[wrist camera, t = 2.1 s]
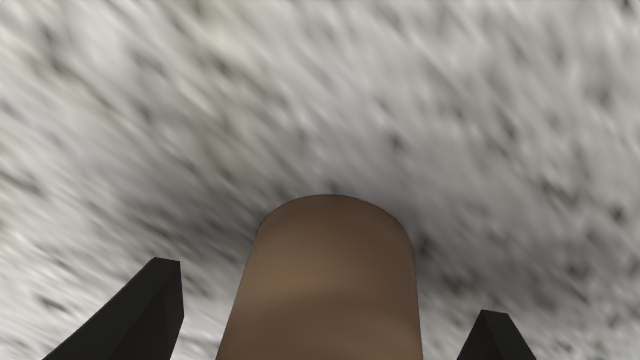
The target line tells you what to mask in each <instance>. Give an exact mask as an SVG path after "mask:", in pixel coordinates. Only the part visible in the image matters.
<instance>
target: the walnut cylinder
mask: <svg viewBox="0 0 640 360" xmlns="http://www.w3.org/2000/svg"><path fill="white" fill-rule="evenodd" d="M215 360H423V353H422V342H421V330H420V319H419V308H418V296H417V285H416V274H415V262H414V253H413V247H412V244H411V241H410V239H409V237H408V235H407V233H406V232H405V230H404V229H403V227H402V226H401V225H400V224H399V223H398V222H397V221H396V220H395V219H394V218H393V217H392V216H391V215H389V214H388V213H387V212H385V211H384V210H382V209H380V208H379V207H377V206H375V205H373V204H370V203H368V202H366V201H363V200H360V199H357V198H352V197H348V196H342V195H313V196H307V197H302V198H298V199H296V200H293V201H290V202H288V203H286V204H284V205H282V206H280V207H279V208H277V209H276V210H274V211H273V212H272V213H271V214H269V215H268V216H267V217H266V218H265V220H264V221H263V222H262V223H261V225H260V227H259V229H258V231H257V233H256V236H255V239H254V242H253V245H252V248H251V252H250V255H249V258H248V261H247V264H246V267H245V270H244V273H243V276H242V279H241V282H240V285H239V288H238V291H237V295H236V298H235V301H234V304H233V307H232V310H231V313H230V316H229V319H228V322H227V325H226V328H225V331H224V334H223V338H222V341H221V344H220V347H219V350H218V353H217V356H216V359H215Z"/></svg>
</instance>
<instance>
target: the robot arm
mask: <svg viewBox="0 0 640 360" xmlns="http://www.w3.org/2000/svg"><path fill="white" fill-rule="evenodd" d="M183 319H184V307H183V295H182V282H181V270H180V261H175V260H169V259H163V258H157V257H154V258H153V259H151V260H150V261H149V262H148V263H147V264H146V265H145V266H144V267H143V268H142V269H141V270H140V271H139V272H138V273H137V274H136V275H135V276H134V277H133V278H132V279H131V280H130V281H129V282H128V283H127V284H126V285H125V286H124V287H123V288H122V289H121V290H120V291H119V292H118V293H117V294H116V295H115V296H114V297H112V298H111V299H110V300H109V301H108V302H107V303H106V304H105V305H104V306H103V307H102V308H101V309H100V310H99V311H97V312H96V313H95V314H94V315H93V316H92V317H91V318H90V319H89V320H88V321H87V322H85V323H84V324H83V325H82V326H81V327H80V328H79V329H78V330H77V331H75V332H74V333H73V334H72V335H71V336H70V337H68V338H67V339H66V340H65V341H64V342H62V343H61V344H60V345H59V346H58V347H56V348H55V349H54V350H53V351H52V352H51V353H49V354H48V355H47V356H46V357H45V358H43V359H42V360H170V358H171V355H172V352H173V349H174V346H175V343H176V340H177V337H178V334H179V331H180V328H181V325H182V322H183ZM457 360H537V359H536V358H535V356H534V355H533V353H532V351H531V350H530V348H529V347H528V345H527V343H526V342H525V340H524V339H523V337H522V336H521V334H520V332H519V331H518V329H517V328H516V326H515V324H514V323H513V321H512V320H511V318H510V317H509V315H508V314H507V313H501V312H495V311H488V310H482V309H481V311H480V314H479V316H478V318H477V320H476V322H475V324H474V326H473V328H472V330H471V332H470V334H469V336H468V338H467V340H466V342H465V344H464V346H463V348H462V350H461V352H460V354H459V356H458V358H457Z"/></svg>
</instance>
